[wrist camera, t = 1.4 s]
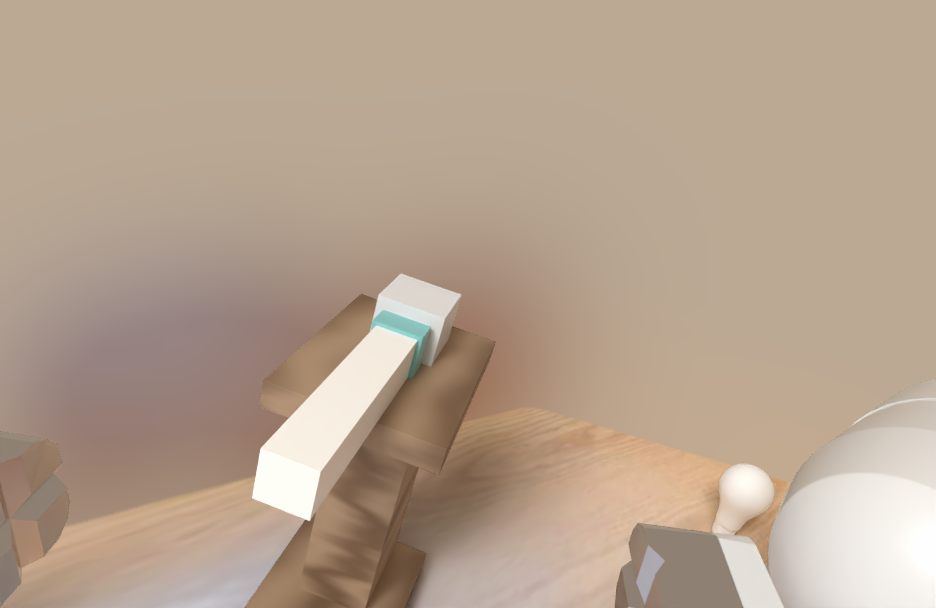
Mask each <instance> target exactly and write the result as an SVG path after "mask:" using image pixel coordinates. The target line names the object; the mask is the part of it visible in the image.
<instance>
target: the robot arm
mask: <svg viewBox="0 0 936 608" xmlns="http://www.w3.org/2000/svg"><path fill="white" fill-rule="evenodd" d="M61 464H62V459H61V455H60V451H59V447H58V444H57V443H55V442H52V441H50V440H48V439H44V438H38V437H32V436H26V435H20V434H14V433H8V432H2V431H0V606H1V605H2V604H3V603H4V602H5V601H6V600H7V598H8V597H9V596H10V595H11V594H12V593H13V592H14V590H15V589H16V588H17V587H18V586H19V585H20V584H21V574H22V567H24V566H26V565H28V564H30V563H32V562H34V561H36V560H38V559H40V558H42V557H44V556H45V555H46V554H47V552H48V551H49V550H50V549H51V548H52V546H53V545H54V544H55V543H56V542H57V540H58V539H59V537H60V535H61V533H62V531H63V528H64V526H65V524H66V522H67V519H68V514H69V506H70V499H69V494H68V488H67V487H66V486H65V485H64V484H63V483H62V482H61V481H60V479H59V478H58V477H57V476H56V475H55V472H56V471H57V470H58V468H59V467H60V466H61ZM629 548H630V553H631V558H632V561H630V562H629V563H627V564H626V565H624V566H623V567H622V568H621V572H620V575H619V579H618V583H617V589H616V600H615V608H936V379H934V380H929V381H925V382H922V383H919V384H916V385H912V386H910V387H908V388H906V389H904V390H902V391H900V392H898V393H897V394H895V395H894V396H892V397H890V398H889V399H888V400H886V401H885V402H883V403H882V404H880V405H879V406H878V407H876V408H875V409H873V410H872V411H870V412H869V413H868V414H866V415H865V416H863V417H862V418H860V419H859V420H857V421H856V422H855V423H854V424H853V425H852V426H851V427H850V428H849V429H847V430H846V431H844V432H843V433H841V434H840V435H839V436H837V437H836V438H834V439H833V440H831V441H830V442H828V443H827V444H826V445H824V446H823V447H821V448H820V449H819V450H817V451H816V452H815V453H814V454H812V455H811V456H810V457H809V459H808V460H807V461H806V462H805V463H804V464H803V465H802V467H801V468H800V469H799V471H798V472H797V474H796V476H795V478H794V479H793V481H792V483H791V485H790V487H789V489H788V490H787V492H786V494H785V496H784V498H783V500H782V503H781V505H780V508H779V510H778V513H777V515H776V518H775V520H774V523H773V525H772V528H771V532H770V537H769V544H768V561H767V562H766V564H764V562H763V560H762V558H761V555H760V553H759V551H758V549H757V547H756V544H755V543H754V542H753V541H752V540H751V539H750V538H749V537H746V536H738V535H730V534H722V533H714V532H711V533H708V532H702V531H694V530H687V529H680V528H672V527H665V526H657V525H650V524H642V523H638V524H637V525H636V527H635V528H634V529H633V532H632V535H631V538H630V541H629Z"/></svg>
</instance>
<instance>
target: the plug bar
mask: <svg viewBox="0 0 936 608" xmlns="http://www.w3.org/2000/svg"><path fill="white" fill-rule="evenodd" d="M460 298H461V294H458V293H455V292H452V291H449V290H446V289H444V288H440V287H438V286H435V285H432V284H429V283H426V282H423V281H421V280H418V279H415V278H412V277H409V276H406V275H403V274H400V275H399V276H398V277H397V278H396V279H395V280H394V281H393V282H392V283H391V284H390V285H389V286H388V287H386V288H385V289H384V290H383V291H382V292H381V293H380V294H379V295H378V299H377V304H376V308H375V312H374V316H373V321H372V325H371V329H370V332H369V334H368V335H367V336H366V337H365V338H364V339H363V340H362V341H361V342H360V343H359V344H358V345H357V346H356V347H355V348H354V350H353V351H352V352H351V353H350V354H349V355H348V356H347V357H346V358H345V359H344V360H343V361H342V362H341V363H340V364H339V365H338V367H337V368H336V369H335V370H334V371H333V372H332V373H331V374H330V375H329V376H328V377H327V378H326V379H325V380H324V381H323V383H322V384H321V385H320V386H319V387H318V388H317V389H316V390H315V391H314V392H313V393H312V394H311V395H310V396H309V397H308V399H307V400H306V401H305V402H304V403H303V404H302V405H301V406H300V407H299V408H298V409H297V410H296V411H295V412H294V413H293V414H292V416H291V417H290V418H289V419H288V420H287V421H286V422H285V423H284V424H283V425H282V426H281V427H280V428H279V429H278V430H277V432H276V433H275V434H274V435H273V436H272V437H271V438H270V439H269V440H268V441H267V442H266V443H265V444H264V445H263V446H262V447H261V450H260V455H259V462H258V467H257V473H256V478H255V484H254V490H253V496H252V498H253V499H255V500H258V501H260V502H263V503H265V504H268V505H270V506H273V507H276V508H278V509H281V510H283V511H286V512H288V513H291V514H293V515H296V516H298V517H301V518H303V519H306V520H308V521H310V520H311V518H312V517H313V516H314V514H315V513H316V511H317V510H318V508H319V507H320V505H321V504H322V502H323V501H324V499H325V498H326V496H327V495H328V494H329V492H330V491H331V489H332V488H333V486H334V485H335V483H336V482H337V480H338V479H339V477H340V476H341V475H342V473H343V472H344V470H345V469H346V467H347V466H348V464H349V463H350V461H351V460H352V458H353V457H354V455H355V454H356V453H357V451H358V450H359V448H360V447H361V445H362V444H363V442H364V441H365V439H366V438H367V436H368V435H369V433H370V432H371V431H372V429H373V428H374V426H375V425H376V423H377V422H378V420H379V419H380V417H381V416H382V414H383V413H384V411H385V410H386V409H387V407H388V406H389V404H390V403H391V401H392V400H393V398H394V397H395V395H396V394H397V392H398V391H399V389H400V388H401V387H402V385H403V384H404V382H405V381H406V379H407V378H410V379H412V378H413V376H414V375H415V373H416V372H417V370H418V369H419V367H420V365H421V363H422V364H425V365H427V366H430V367H431V366H432V365H433V363H434V361H435V360H436V358H437V357H438V355H439V353H440V352H441V350H442V349H443V347H444V345H445V344H446V342H447V341H448V339H449V335H450V332H451V329H452V325H453V322H454V318H455V315H456V311H457V308H458V305H459V301H460Z"/></svg>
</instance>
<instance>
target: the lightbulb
mask: <svg viewBox="0 0 936 608" xmlns="http://www.w3.org/2000/svg"><path fill="white" fill-rule="evenodd" d="M774 494H775V491H774V486H773V483H772V481H771V479H770V478H769V476H768V475H767V474H766V473H765V472H764V471H763V470H762V469H760V468H758V467H756V466H754V465H751V464H737V465H734V466H731V467H730V468H728V469H727V470H726V471H725V472H724V473H723V474H722V476H721V478H720V482H719V496H720V504H719V508H718V511H717V513H716V519H715V521H714V524H713V526H712V528H711V531H712V532H714V533H722V534H730V535H734V534H735V533H736V531H739V530H740V529H741V528H742V526H743V525H744V524H745V523H746V522H747V521H748V520H750V519H751V518H754V517H756V516H758V515H760V514H762V513H764V512H765V511H767V510H768V509H769V508H770V506H771V505H772V503H773V500H774Z"/></svg>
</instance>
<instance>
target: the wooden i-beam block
mask: <svg viewBox="0 0 936 608" xmlns="http://www.w3.org/2000/svg"><path fill="white" fill-rule="evenodd" d="M376 304H377V299H374V298H371V297H368V296H366V295H363V294H361V295H359V296H358V297H357V298H356V299H355V300H354V301H353V302H352V303H350V304H349V305H348V306H347V307H346V308H345V309H344V310H343V311H341V312H340V313H339V314H338V315H337V316H336V317H335V318H334V319H332V320H331V321H330V322H329V323H328V324H327V325H326V326H324V327H323V328H322V329H321V330H320V331H319V332H318V333H317V334H315V335H314V336H313V337H312V338H311V339H310V340H309V341H308V342H306V343H305V344H304V345H303V346H302V347H301V348H299V349H298V350H297V351H296V352H295V353H294V354H293V355H292V356H290V357H289V358H288V359H287V360H286V361H285V362H284V363H282V364H281V365H280V366H279V367H278V368H277V369H276V370H275V371H273V372H272V373H271V374H270V375H269V376H268V377H267V378H265V379H264V382H263V387H262V393H261V399H260V405H259V407H261V408H264V409H266V410H269V411H272V412H274V413H277V414H279V415H282V416H285V417H287V418H290V417H291V416H292V414H293V413H294V412H295V411H296V410H297V409H298V408H299V407H300V406H301V405H302V404H303V403H304V402H305V401H306V400H307V399H308V397H309V396H310V395H311V394H312V393H313V392H314V391H315V390H316V389H317V388H318V387H319V386H320V385H321V384H322V383H323V381H324V380H325V379H326V378H327V377H328V376H329V375H330V374H331V373H332V372H333V371H334V370H335V369H336V368H337V367H338V365H339V364H340V363H341V362H342V361H343V360H344V359H345V358H346V357H347V356H348V355H349V354H350V353H351V352H352V351H353V350H354V348H355V347H356V346H357V345H358V344H359V343H360V342H361V341H362V340H363V339H364V338H365V337H366V336H367V335H368V334H369V332H370V329H371V325H372V321H373V316H374V312H375V308H376ZM494 345H495V341H492V340H490V339H487V338H484V337H481V336H478V335H476V334H473V333H470V332H467V331H464V330H461V329H459V328H456V327H453V326H452V329H451V332H450V335H449V339H448V341H447V342H446V344H445V345H444V347H443V349H442V350H441V352H440V353H439V355H438V357H437V358H436V360H435V361H434V363H433V365H432V366H431V367H430V366H427V365H425V364H422V363H421V365H420V367H419V369H418V370H417V372H416V373H415V375H414V376H413V378H412V379H410V378H407V379H406V381H405V382H404V384H403V385H402V387H401V388H400V389H399V391H398V392H397V394H396V395H395V397H394V398H393V400H392V401H391V403H390V404H389V406H388V407H387V409H386V410H385V411H384V413H383V414H382V416H381V417H380V419H379V420H378V422H377V423H376V425H375V426H374V428H373V429H372V431H371V432H370V433H369V435H368V436H367V438H366V439H365V441H364V442H363V444H362V445H361V447H360V448H359V450H358V451H357V453H356V454H355V455H354V457H353V458H352V460H351V461H350V463H349V464H348V466H347V467H346V469H345V470H344V472H343V473H342V475H341V476H340V477H339V479H338V480H337V482H336V483H335V485H334V486H333V488H332V489H331V491H330V492H329V494H328V495H327V496H326V498H325V499H324V501H323V502H322V504H321V505H320V507H319V508H318V510H317V511H316V513H315V514H314V516H313V517H312V518H311V520H310V521H308V520H305V521H304V523H303V524H302V525H301V527H300V528H299V530H298V531H297V533H296V534H295V535H294V537H293V538H292V540H291V541H290V543H289V544H288V546H287V547H286V548H285V550H284V551H283V553H282V554H281V556H280V557H279V559H278V560H277V561H276V563H275V564H274V566H273V567H272V569H271V570H270V572H269V573H268V574H267V576H266V577H265V579H264V580H263V582H262V583H261V585H260V586H259V587H258V589H257V590H256V592H255V593H254V595H253V596H252V597H251V599H250V600H249V602H248V603H247V605H246V606H245V608H405V607H406V605H407V602H408V600H409V597H410V595H411V592H412V590H413V587H414V585H415V582H416V580H417V577H418V575H419V572H420V570H421V567H422V564H423V561H424V558H425V555H426V553H425V552H422V551H420V550H417V549H415V548H412V547H410V546H407V545H405V544H402V543H400V542H397V538H398V534H399V531H400V528H401V524H402V521H403V518H404V514H405V511H406V508H407V504H408V501H409V498H410V494H411V491H412V488H413V484H414V481H415V478H416V474H417V471H418V468H421V469H424V470H426V471H429V472H432V473H434V474H437V475H439V473H440V471H441V469H442V467H443V464H444V462H445V460H446V458H447V455H448V453H449V451H450V449H451V446H452V444H453V442H454V440H455V437H456V435H457V433H458V431H459V428H460V426H461V424H462V422H463V419H464V417H465V415H466V412H467V410H468V408H469V406H470V404H471V401H472V399H473V397H474V394H475V392H476V390H477V388H478V385H479V383H480V381H481V379H482V377H483V374H484V372H485V370H486V367H487V365H488V363H489V360H490V357H491V354H492V351H493V348H494Z"/></svg>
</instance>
